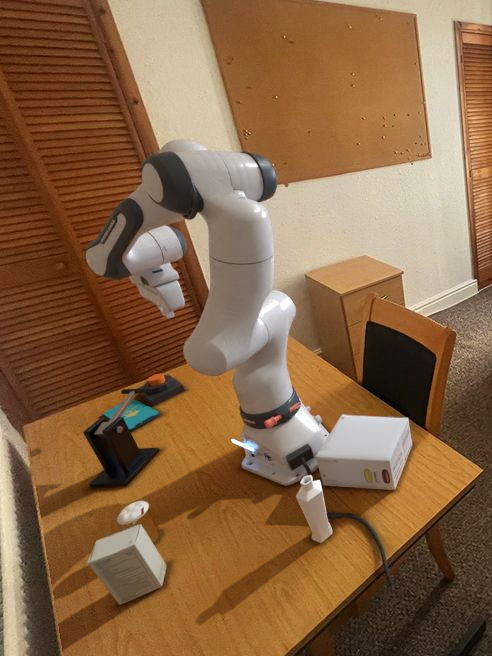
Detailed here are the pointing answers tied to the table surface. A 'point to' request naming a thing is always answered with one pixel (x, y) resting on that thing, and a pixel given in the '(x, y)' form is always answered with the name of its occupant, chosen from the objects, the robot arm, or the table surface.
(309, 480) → the perfume bottle
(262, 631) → the table surface
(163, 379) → the button
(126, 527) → the milkshake
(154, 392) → the control box
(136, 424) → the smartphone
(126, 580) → the cosmetic box
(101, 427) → the lever
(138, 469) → the bracket
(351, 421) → the supplement box
